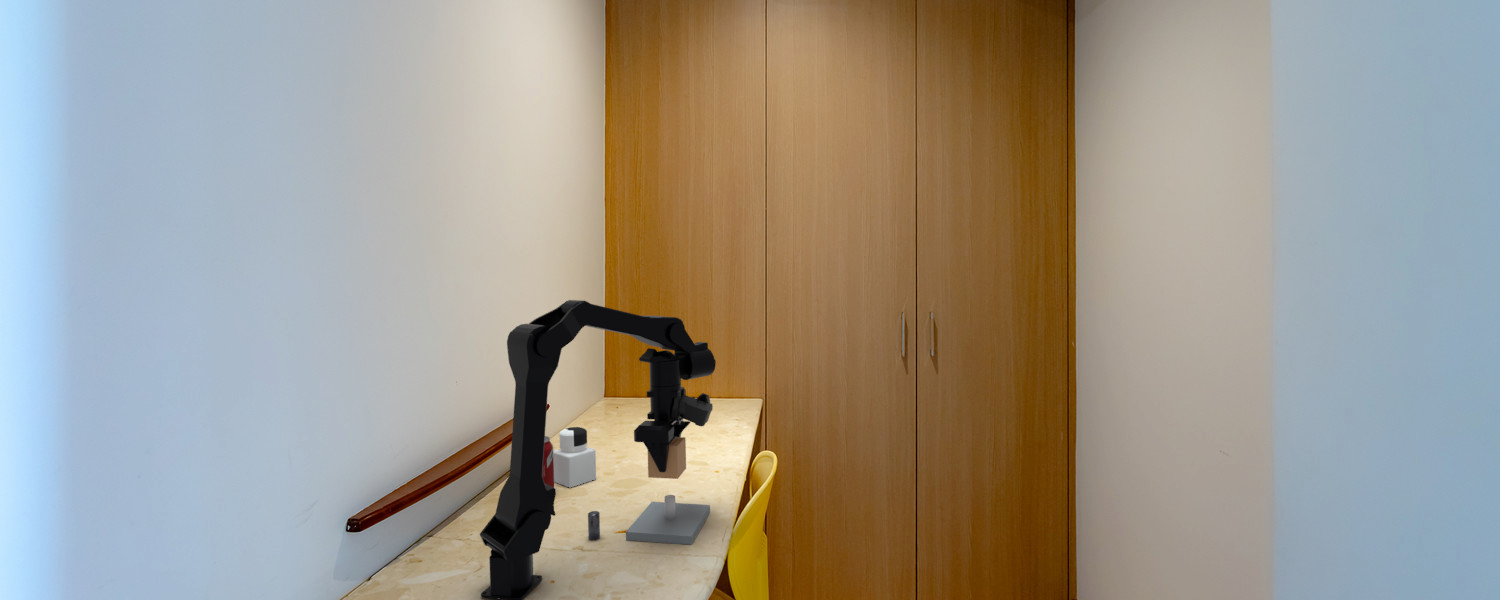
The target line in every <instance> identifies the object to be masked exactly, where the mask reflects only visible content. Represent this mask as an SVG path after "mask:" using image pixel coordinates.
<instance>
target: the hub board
mask: <svg viewBox="0 0 1500 600" xmlns="http://www.w3.org/2000/svg"><path fill="white" fill-rule="evenodd" d="M710 514H711V504H699V503H697V504H696V503H682V502H681V503H680V502H676V495H674V494H667V495H665V496H664V501H651V502H650V503H649V504H648V505H647V507H646V508H645V509H644V510H643V511H642V513H640V514H639V516H638V517H637V518H636V520H635V521H634V522H633V523H632V524H631V525H630V527H629V528H628V529H627V530H626V531H625V541H632V542H645V543H646V542H649V543H663V544H675V545H676V544H677V545H690V546H691V545H692V544H694V541H695V539H696V537H698V534H699V533H700V531H701V530H702V528H703V526H704V523H706V520H707V519H708V517H709V515H710Z"/></svg>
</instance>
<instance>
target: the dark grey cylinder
mask: <svg viewBox="0 0 1500 600" xmlns="http://www.w3.org/2000/svg"><path fill="white" fill-rule="evenodd" d="M600 514H601V513H600V512H599V511H597V510H595V511H594V510H593V511H589V512H588V513H587V527H588V530H587V531H588V533H587V534H588V536H587V537H588V540H589V541H597V540H600V539H601V526H600V525H601V524H600V523H601V521H600V518H601V517H600Z"/></svg>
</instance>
